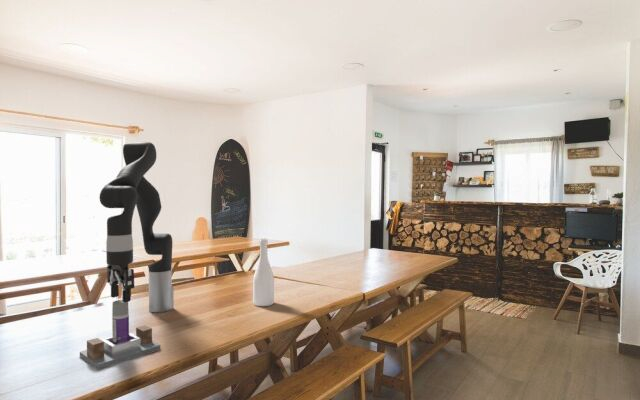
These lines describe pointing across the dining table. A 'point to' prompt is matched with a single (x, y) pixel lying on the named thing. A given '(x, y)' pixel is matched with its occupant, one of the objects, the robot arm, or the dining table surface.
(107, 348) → the socket
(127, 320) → the container
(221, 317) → the dining table surface
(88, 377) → the dining table surface
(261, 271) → the wine bottle
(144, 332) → the walnut blocks
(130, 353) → the base board
